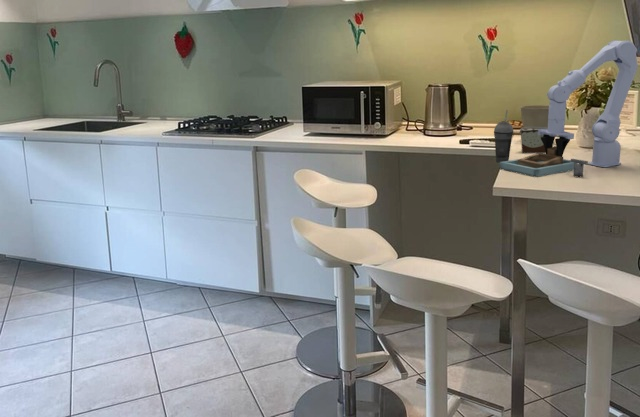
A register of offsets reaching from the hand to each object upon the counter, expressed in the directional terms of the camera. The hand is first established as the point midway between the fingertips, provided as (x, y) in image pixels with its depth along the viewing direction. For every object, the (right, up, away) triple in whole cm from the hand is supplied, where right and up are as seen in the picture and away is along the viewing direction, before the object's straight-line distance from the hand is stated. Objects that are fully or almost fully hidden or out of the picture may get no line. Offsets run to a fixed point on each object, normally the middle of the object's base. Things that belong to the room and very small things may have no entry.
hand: (554, 156), depth 231 cm
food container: (+2, +4, +30) cm, 30 cm away
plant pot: (+11, +10, +50) cm, 52 cm away
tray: (-6, -5, -3) cm, 8 cm away
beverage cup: (-16, -1, +11) cm, 19 cm away
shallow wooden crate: (-4, -3, -2) cm, 5 cm away
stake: (+2, -8, -16) cm, 18 cm away
